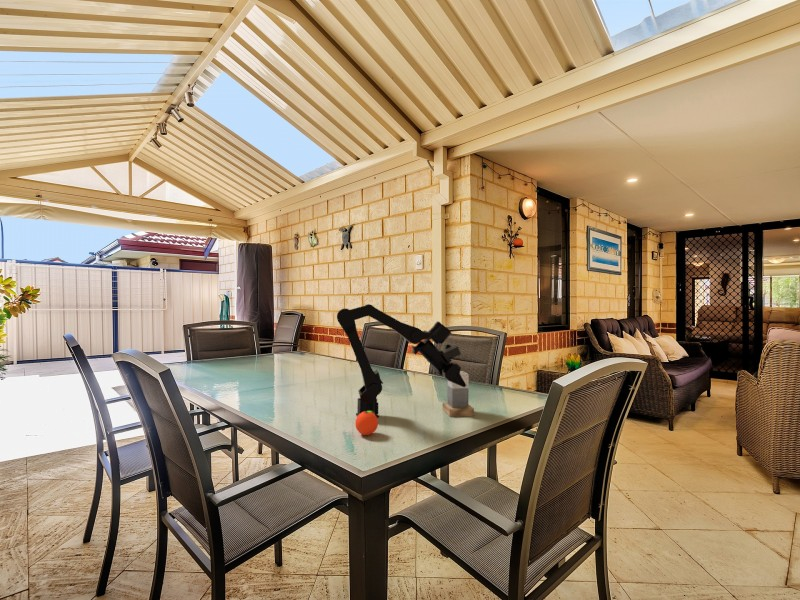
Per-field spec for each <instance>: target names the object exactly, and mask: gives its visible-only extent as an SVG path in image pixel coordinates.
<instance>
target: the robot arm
mask: <svg viewBox="0 0 800 600" xmlns="http://www.w3.org/2000/svg"><path fill="white" fill-rule="evenodd" d="M366 317H369V318H371V319H373V320H376V321H377V322H379V323H380V324H382V325H384V326H386V327H388V328H389V329H392V330H393V331H395V332H396V333H397V334H399V335H400V336H401V337H402V338H403V339H405V340H406V341H407V342H408V343H410V344H412V346H411V347H412V352H411V353H412V354H413V355H417V354H418V353H419V354H420V355H421V356H422V357H423V358H424V359H425V360H426V361H427V362H428V363H429V364H430V365H431V369H432V370H434V372H436V373H437V374H438V375H440V376H442V377H444V379H446V380H447V382H448V381H450V382H453V383H455V384H458V385H460V386H462V387H465V386H466V384H465V382H464V380H463V379H462V377H461V375H460V371H462V367H461V366H460V365H459V364H458V363H456V362H453V360H452V359H453V358H455V357H457V356H458V357H459V356H461V355H462V352H461V350H460V348H459V346H458V345H456V344H453V345H451V344H448V343H447V344H445V345H444V349H443V350H440V349H439V348H438V347H437V346H438V344H439V345H443V343H445V342H446V340H447V339H448V338H449V337H450V336H451V335H452V334H453V333H452V332H451V330H450V329H449V328H448V327H446V326H445V325H444V324H442V323H441V322H440V321H439V320H438V321H436V322H435V323H434V324H433V326H432V327H431V328H430V329H429V330H428V331H427V330H422V329H420V328H419V327H416V326H413V325H409V324H407V323H405V322H402V321H399V320H398V319H396V318H394V317H392V316H390V315H388V314H387V313H385V312H383V311H381V310H380V309H378V308H377V307H375V306H374V305H372V304H369V303H368V304H365V305H363V306H359V307H358V306H357V307H355V308H351V309H349V308H341V309H339V310H338V312H337V313H336V319H337V322H338V323H339V325H340V326H341V328H342V330H343V331H344V334H345V335H346V336H347V338H348V341H349V343H350V346H351V348H352V351H353V353H354V356H355V359H356V360H357V362H358V367H359V368H360V371H361V377H362V380H363V386H361V387H360V388H359V390H358V395H359V397H358V398H357V413H355V416H356V417H358V415H359V414H360V413H362V412H365V411H373V412H374V413H375V415H376V417H377V419H379V417H380V416H379V402H378V398H377V397H378V396H379V395H380V394H381V393H382V391H383V384H384V382H383V380H382V379H381V375H380V373H379V370H378V369H375V370H373V368H372V366H371V364H370V361H369V359H368V356H367V353H366V352H365V348H364V346H363V343H362V341H361V338H360V336H359V333H358V330H357V324H356V321H357V320H359V319H362V318H366ZM414 345H415V346H414ZM436 345H437V346H436ZM373 412H372V413H373ZM374 413H373V414H374Z"/></svg>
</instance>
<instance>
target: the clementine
mask: <svg viewBox="0 0 800 600" xmlns="http://www.w3.org/2000/svg"><path fill="white" fill-rule="evenodd" d="M372 412H373V411H365V412H362V413H360V414H359V415H358V416H356V419H355V423H354V424H355V425H354V426H355V428H356V430H357V432H358V433H359V434H361V435H363V436H369V435H372V434H374V433H375V432H376V431H377V430H378V429H377V428H378V426H379V418H377V417H376V415H375V413H374V412H373V413H374V414H373V413H372Z"/></svg>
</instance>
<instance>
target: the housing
mask: <svg viewBox="0 0 800 600" xmlns="http://www.w3.org/2000/svg"><path fill="white" fill-rule="evenodd" d="M460 375H461V377H462V379H463V380H464V382H465V384H466V386H465V387H462V386H460V385H458V384H455V383H453V382H450V381H448V380H447V399H446V400H447V401H446V403H447V404H448V405H449V406H450V407H452V408H468V404H469V388H470V387H469V382H470V379H469V375H470V374H469V373H467V372H466V371H464V370H461V371H460Z"/></svg>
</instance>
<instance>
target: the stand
mask: <svg viewBox="0 0 800 600" xmlns="http://www.w3.org/2000/svg"><path fill="white" fill-rule="evenodd" d="M442 411H443V412H444V413H445V414H446V415H448V416H449V417H452V418H453V417H471V416H474V415H475V408H474V407H473V406H471V405H470V403H468V408H452V407H450V406H449V405H448V404H447V402H442Z"/></svg>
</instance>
